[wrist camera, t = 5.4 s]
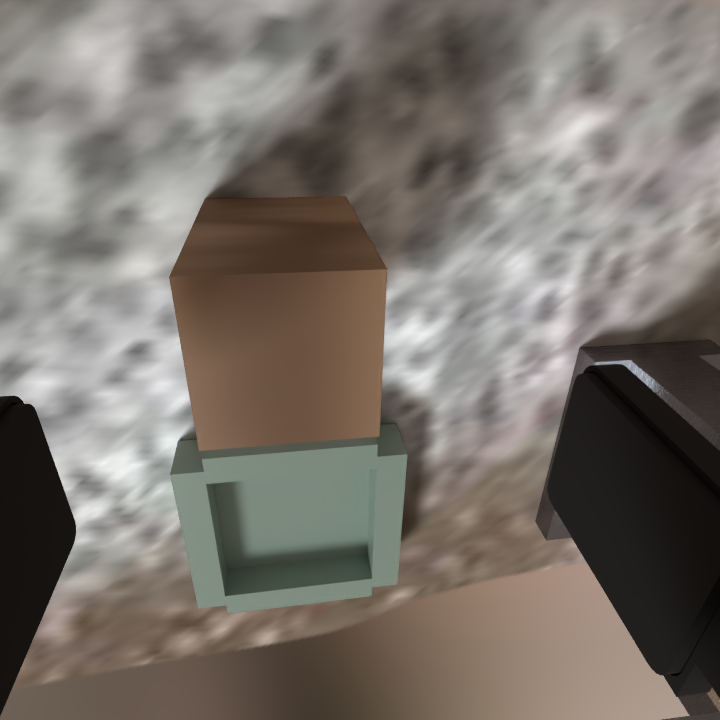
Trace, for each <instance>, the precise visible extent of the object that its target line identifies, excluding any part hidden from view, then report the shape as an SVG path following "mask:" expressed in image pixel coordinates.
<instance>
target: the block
mask: <svg viewBox="0 0 720 720" xmlns="http://www.w3.org/2000/svg"><path fill="white" fill-rule="evenodd" d="M169 278H170V284H171V290H172V296H173V302H174V308H175V313H176V319H177V325H178V331H179V337H180V343H181V349H182V354H183V360H184V366H185V372H186V378H187V384H188V390H189V396H190V401H191V407H192V413H193V419H194V425H195V431H196V437H197V442H198V448H199V451H205V450H218V449H230V448H242V447H255V446H267V445H280V444H292V443H304V442H317V441H329V440H342V439H354V438H367V437H379V436H380V414H381V392H382V370H383V348H384V326H385V304H386V281H387V268H386V267H385V265H384V263H383V261H382V260H381V258H380V256H379V254H378V252H377V251H376V249H375V247H374V245H373V244H372V242H371V240H370V238H369V237H368V235H367V233H366V231H365V230H364V228H363V226H362V224H361V223H360V221H359V219H358V217H357V215H356V214H355V212H354V210H353V208H352V207H351V205H350V203H349V201H348V200H347V198H346V197H288V198H225V199H205V200H204V202H203V204H202V206H201V208H200V211H199V213H198V215H197V217H196V219H195V222H194V224H193V226H192V228H191V230H190V233H189V235H188V237H187V239H186V241H185V244H184V246H183V248H182V250H181V252H180V255H179V257H178V259H177V261H176V263H175V266H174V268H173V270H172V272H171V274H170V277H169Z"/></svg>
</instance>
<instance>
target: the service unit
mask: <svg viewBox="0 0 720 720" xmlns="http://www.w3.org/2000/svg"><path fill="white" fill-rule="evenodd" d="M607 364H622V365H624V366H626V367H627V368H628V369H629V370H630V371H631V372H633V373H634V374H635V375H636V376H637V377H638V378H639V379H640V380H641V381H643V382H644V383H645V384H646V385H647V386H648V387H649V388H650V389H651V390H653V391H654V392H655V393H656V394H657V395H658V396H659V397H660V398H661V399H663V400H664V401H665V402H666V403H667V404H668V405H669V406H670V407H671V408H673V409H674V410H675V411H676V412H677V413H678V414H679V415H680V416H681V417H683V418H684V419H685V420H686V421H687V422H688V423H689V424H690V425H691V426H693V427H694V428H695V429H696V430H697V431H698V432H699V433H700V434H701V435H703V436H704V437H705V438H706V439H707V440H708V441H709V442H710V443H711V444H713V445H714V446H715V447H716V448H717V449H718V450H719V451H720V346H718V345H717V344H715V343H714V342H712V341H711V340H703V341H686V342H670V343H653V344H637V345H620V346H604V347H587V348H580V349H579V353H578V357H577V361H576V365H575V368H574V372H573V376H572V380H571V384H570V388H569V392H568V396H567V400H566V404H565V408H564V412H563V416H562V420H561V424H560V427H559V431H558V435H557V439H556V443H555V447H554V451H553V455H552V459H551V463H550V467H549V471H548V475H547V479H546V483H545V486H544V490H543V494H542V498H541V502H540V506H539V510H538V514H537V518H536V523H537V525H538V527H539V529H540V530H541V532H542V534H543V536H544V537H545V539H546V540H554V539H562V538H571V535H570V534H569V532H568V530H567V529H566V527H565V525H564V524H563V522H562V520H561V519H560V517H559V515H558V514H557V512H556V510H555V509H554V507H553V506H552V504H551V502H550V499H549V496H548V489H547V486H548V480H549V476H550V473H551V469H552V465H553V461H554V457H555V453H556V450H557V446H558V442H559V438H560V434H561V430H562V427H563V423H564V419H565V415H566V411H567V407H568V404H569V400H570V396H571V392H572V388H573V384H574V381H575V378H576V377H577V376H578V375H579V374H583V372H584V370H585V369H586V368H587V367H588V366H590V365H607ZM678 698H679V699H680V701H681V703H682V704H683V705H684V707H685V709H686V710H687V712H688V714H689V715H690V716H693V715H700V714H708V713H717V712H720V698H719V697H718V695H717V694H716V692H715V691H714V690H713V688H712V689H711V690H710V692H708V693H701V694H693V695H686V696H679V697H678Z"/></svg>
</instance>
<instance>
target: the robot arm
mask: <svg viewBox="0 0 720 720" xmlns="http://www.w3.org/2000/svg"><path fill="white" fill-rule="evenodd" d="M547 489H548V496H549V499H550V502H551V504H552V506H553V507H554V509H555V510H556V512H557V514H558V515H559V517H560V519H561V520H562V522H563V524H564V525H565V527H566V529H567V530H568V532H569V534H570V535H571V537H572V539H573V540H574V542H575V544H576V545H577V547H578V549H579V550H580V552H581V554H582V555H583V557H584V559H585V560H586V562H587V563H588V565H589V567H590V568H591V570H592V572H593V573H594V575H595V577H596V578H597V580H598V582H599V583H600V585H601V587H602V588H603V590H604V592H605V593H606V595H607V597H608V598H609V600H610V602H611V603H612V605H613V607H614V608H615V610H616V611H617V613H618V615H619V616H620V618H621V620H622V621H623V623H624V625H625V626H626V628H627V630H628V631H629V633H630V635H631V636H632V638H633V640H634V641H635V643H636V645H637V646H638V648H639V650H640V651H641V653H642V654H643V656H644V658H645V660H646V661H647V663H648V664H649V666H650V667H651V668H652V670H654V671H655V672H656V673H657V674H659V675H663V676H664V677H665V679H666V681H667V682H668V684H669V685H670V687H671V688H672V690H673V692H674V694H675V695H676V697H679V696H686V695H693V694H701V693H708V692H710V690H711V689H712V688H713V690H714V691H715V692H716V694H717V695H718V697H719V698H720V451H719V450H718V449H717V448H716V447H715V446H714V445H713V444H711V443H710V442H709V441H708V440H707V439H706V438H705V437H704V436H703V435H701V434H700V433H699V432H698V431H697V430H696V429H695V428H694V427H693V426H691V425H690V424H689V423H688V422H687V421H686V420H685V419H684V418H683V417H681V416H680V415H679V414H678V413H677V412H676V411H675V410H674V409H673V408H671V407H670V406H669V405H668V404H667V403H666V402H665V401H664V400H663V399H661V398H660V397H659V396H658V395H657V394H656V393H655V392H654V391H653V390H651V389H650V388H649V387H648V386H647V385H646V384H645V383H644V382H643V381H641V380H640V379H639V378H638V377H637V376H636V375H635V374H634V373H633V372H631V371H630V370H629V369H628V368H627V367H626V366H624V365H622V364H607V365H590V366H588V367H587V368H586V369H585V370H584V372H583V374H579V375H578V376H577V377H576V378H575V381H574V384H573V388H572V392H571V396H570V400H569V404H568V407H567V411H566V415H565V419H564V423H563V427H562V430H561V434H560V438H559V442H558V446H557V450H556V453H555V457H554V461H553V465H552V469H551V473H550V476H549V480H548V486H547ZM75 536H76V524H75V520H74V517H73V514H72V512H71V509H70V506H69V503H68V500H67V497H66V494H65V492H64V489H63V486H62V483H61V480H60V477H59V475H58V472H57V469H56V466H55V463H54V460H53V458H52V455H51V452H50V449H49V446H48V443H47V441H46V438H45V435H44V432H43V429H42V426H41V424H40V421H39V418H38V415H37V412H36V410H35V408H34V407H33V406H32V405H30V404H24V403H23V401H22V400H21V399H20V398H19V397H17V396H1V397H0V715H1V713H2V711H3V708H4V706H5V703H6V701H7V699H8V696H9V694H10V692H11V689H12V687H13V685H14V682H15V680H16V678H17V675H18V673H19V671H20V668H21V666H22V664H23V661H24V659H25V657H26V654H27V652H28V650H29V647H30V645H31V643H32V640H33V638H34V636H35V633H36V631H37V629H38V626H39V624H40V622H41V619H42V617H43V615H44V612H45V610H46V607H47V605H48V603H49V600H50V598H51V596H52V593H53V591H54V589H55V586H56V584H57V582H58V579H59V577H60V575H61V572H62V570H63V568H64V565H65V563H66V561H67V558H68V556H69V554H70V551H71V549H72V547H73V544H74V541H75ZM663 720H720V712H717V713H708V714H700V715H693V716H685V717H678V718H671V719H663Z"/></svg>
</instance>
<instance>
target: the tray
mask: <svg viewBox="0 0 720 720" xmlns="http://www.w3.org/2000/svg"><path fill="white" fill-rule="evenodd" d="M407 455H408V454H407V451H406V449H405V446H404V443H403V440H402V437H401V434H400V432H399V429H398V426H397V424H387V425H380V436H379V437H367V438H354V439H342V440H329V441H317V442H304V443H292V444H280V445H267V446H255V447H242V448H230V449H218V450H205V451H199V448H198V442H197V439H194V440H182V441H178V444H177V448H176V452H175V457H174V461H173V465H172V469H171V474H170V476H171V481H172V486H173V490H174V495H175V500H176V504H177V509H178V514H179V519H180V523H181V528H182V533H183V538H184V542H185V547H186V552H187V557H188V561H189V566H190V571H191V575H192V580H193V585H194V590H195V594H196V599H197V604H198V609H199V608H207V607H215V606H223V605H227V611H228V614H229V613H238V612H246V611H254V610H262V609H270V608H278V607H286V606H294V605H302V604H310V603H318V602H326V601H334V600H342V599H351V598H359V597H367V596H371V589H372V587H380V586H388V585H396V584H397V580H398V568H399V555H400V543H401V530H402V517H403V505H404V492H405V480H406V467H407Z"/></svg>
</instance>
